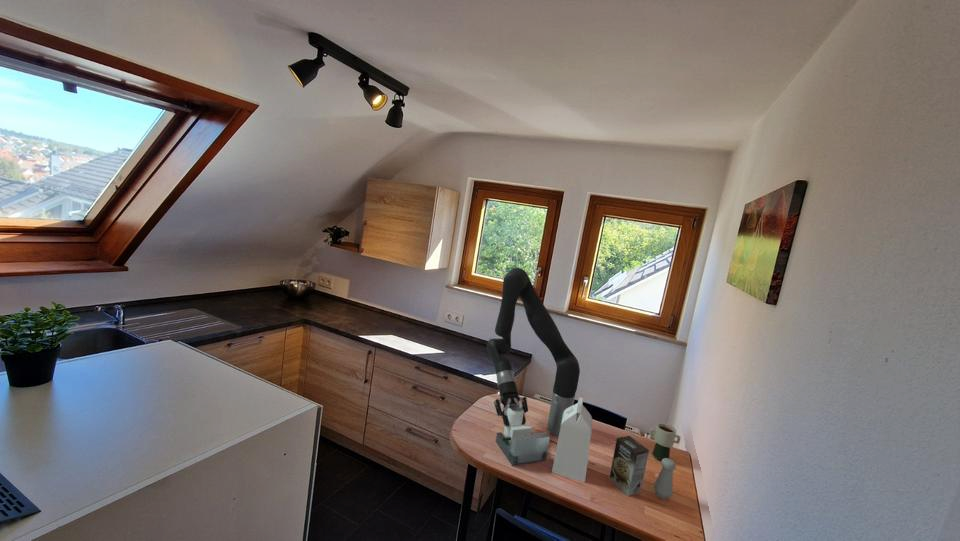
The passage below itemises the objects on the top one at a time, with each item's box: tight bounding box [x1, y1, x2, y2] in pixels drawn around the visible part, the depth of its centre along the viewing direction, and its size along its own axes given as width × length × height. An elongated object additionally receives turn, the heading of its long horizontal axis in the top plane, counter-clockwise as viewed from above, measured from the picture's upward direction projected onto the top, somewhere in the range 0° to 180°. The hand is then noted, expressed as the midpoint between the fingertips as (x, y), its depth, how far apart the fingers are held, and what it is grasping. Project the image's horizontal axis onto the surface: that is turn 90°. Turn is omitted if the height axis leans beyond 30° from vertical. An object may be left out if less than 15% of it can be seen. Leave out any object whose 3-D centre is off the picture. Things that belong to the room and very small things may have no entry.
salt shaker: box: [653, 458, 676, 500], centre depth 132 cm, size 6×6×13 cm
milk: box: [551, 397, 593, 483], centre depth 140 cm, size 12×12×26 cm
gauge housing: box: [495, 431, 551, 467], centre depth 148 cm, size 14×15×10 cm
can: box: [503, 404, 523, 437], centre depth 154 cm, size 6×6×12 cm
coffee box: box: [608, 435, 650, 497], centre depth 134 cm, size 9×6×16 cm
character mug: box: [649, 422, 681, 461], centre depth 154 cm, size 11×7×13 cm, turn 68°
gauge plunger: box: [502, 424, 533, 445], centre depth 148 cm, size 12×2×8 cm, turn 112°
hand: (515, 425), depth 153 cm, fingers closed on can, 6 cm apart
